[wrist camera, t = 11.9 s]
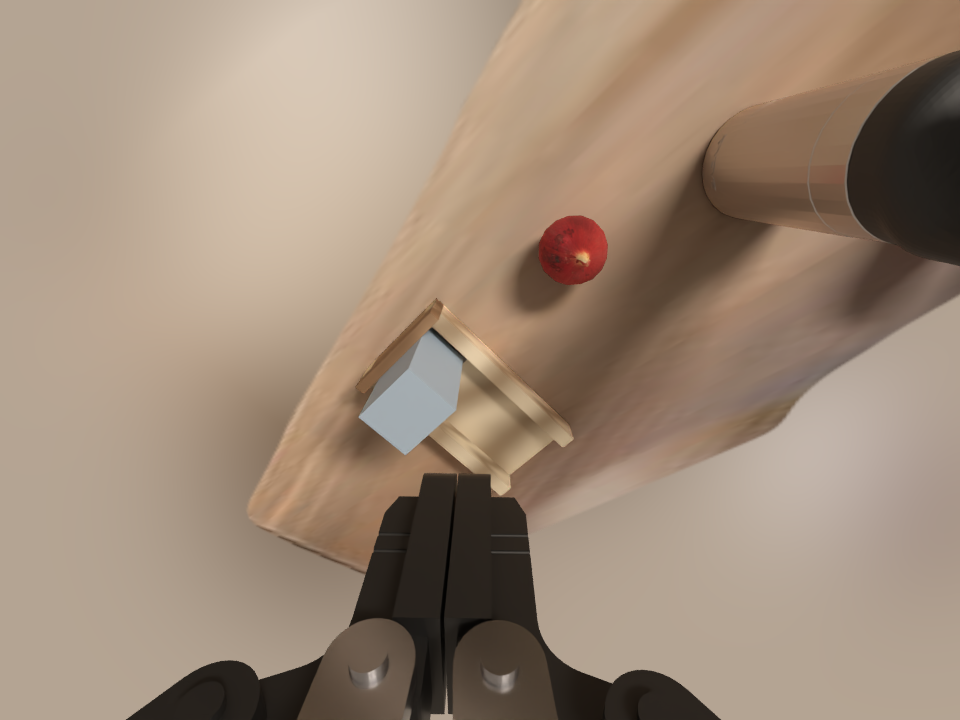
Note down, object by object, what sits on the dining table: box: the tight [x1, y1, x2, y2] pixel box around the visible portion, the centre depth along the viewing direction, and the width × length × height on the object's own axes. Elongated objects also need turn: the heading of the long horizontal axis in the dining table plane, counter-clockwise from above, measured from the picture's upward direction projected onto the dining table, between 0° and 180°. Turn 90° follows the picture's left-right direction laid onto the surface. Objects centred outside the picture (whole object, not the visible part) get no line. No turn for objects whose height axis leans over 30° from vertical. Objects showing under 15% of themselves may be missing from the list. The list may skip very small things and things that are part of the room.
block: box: [359, 328, 463, 455], centre depth 40 cm, size 5×6×11 cm
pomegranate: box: [539, 216, 608, 285], centre depth 38 cm, size 6×6×8 cm
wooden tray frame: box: [356, 298, 574, 496], centre depth 46 cm, size 20×10×5 cm, turn 45°
